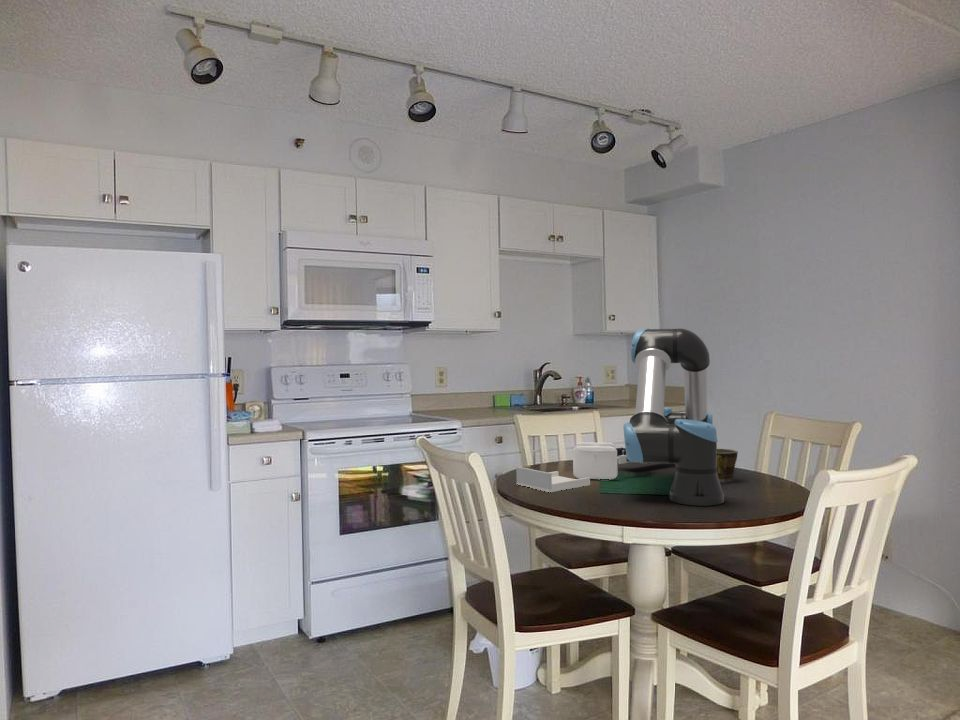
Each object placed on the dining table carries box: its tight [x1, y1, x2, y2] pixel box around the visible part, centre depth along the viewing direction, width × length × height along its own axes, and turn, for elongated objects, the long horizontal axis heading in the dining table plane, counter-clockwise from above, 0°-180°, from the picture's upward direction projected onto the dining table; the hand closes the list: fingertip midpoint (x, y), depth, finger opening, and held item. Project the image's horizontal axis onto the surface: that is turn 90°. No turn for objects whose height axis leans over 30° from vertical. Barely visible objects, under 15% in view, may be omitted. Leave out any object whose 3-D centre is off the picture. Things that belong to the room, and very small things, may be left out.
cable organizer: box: [572, 441, 619, 481], centre depth 239 cm, size 15×11×12 cm
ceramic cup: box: [717, 448, 738, 484], centre depth 229 cm, size 13×10×10 cm
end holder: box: [515, 466, 591, 493], centre depth 227 cm, size 16×18×6 cm
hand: (604, 457), depth 242 cm, fingers open, 13 cm apart
